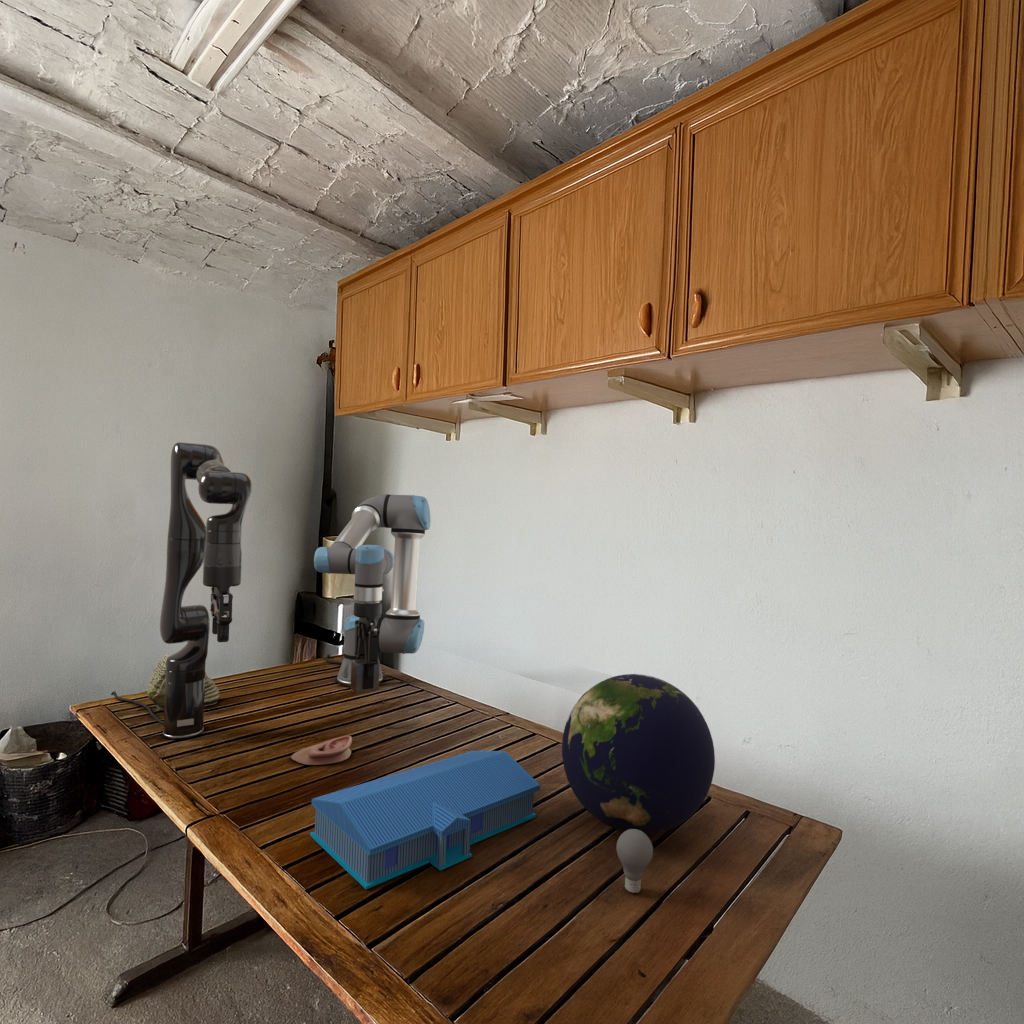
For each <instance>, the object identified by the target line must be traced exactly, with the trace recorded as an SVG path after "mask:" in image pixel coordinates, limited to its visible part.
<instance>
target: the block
mask: <svg viewBox="0 0 1024 1024" xmlns="http://www.w3.org/2000/svg"><path fill="white" fill-rule="evenodd" d="M363 664H365V659H358V660H352V663H351V687H350V689H351V690H352V691H353V692H354V693H355V694H359V693H366V692H367V693H368V692H374V691H375V692H376V691H379V690H380V689H379V688H380V684H379V668H380V667H381V662H380V660H379V661H378V664H375V665H374V685H373V688H372V689H363V671H364V666H363Z"/></svg>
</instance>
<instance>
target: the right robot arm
mask: <svg viewBox="0 0 1024 1024" xmlns="http://www.w3.org/2000/svg"><path fill="white" fill-rule="evenodd" d="M378 528H384V529H385V528H386V529H390V534H391V535H392V536H393V538H394V549H393V553H392V552H391V551H390V550H388V549H386V548H384V546H382V545H379V544H364V543H365V541H366V540H367V538H368V537H369V535H370V534H371V532H374V531H375V530H377V529H378ZM430 528H431V511H430V505H429V501H428V499H427V498H426V497H425V496H421V495H415V494H388V493H383V494H377V495H374V496H371V497H369V498H367V499H365V500H364V501H362V502H360V503H359V504H358V505H357V506H356V507H355V508H354V509H353V512H352V513H351V519H350V520H349V521H348V523H347V524H346V525H345V526H344V528H343V529H342V531H341V532H340V533H339V534H338V536H337V537H336V538H335V540H334V541H333V543H332V544H331V545H330V546H320V547H317V549H316V550H315V552H314V556H313V567H314V569H315V571H316V572H318V573H323V574H329V575H330V574H337V575H342V574H343V575H354V586H353V600H354V603H353V614H351V615H349V616H347V617H346V618H345V621H344V622H345V623H344V629H343V633H344V636H343V659H342V661H339V660H338V661H337V660H330V658H331V654H330V653H328V654H326V656H325V657H324V660H325V662H326V663H328V664H335V665H340V668H339V671H338V673H337V677H336V682H337V683H338V684H339V686H343V687H349V688H351V663H352V660H358V659H365V664H363V666H364V671H363V689H372V688H373V685H374V665H375V664H378V661H379V662H380V659H379V653H390V654H402V655H406V654H411V655H412V654H415V653H417V652H418V651H419V650H420V647H421V644H422V641H423V637H424V632H425V621H424V619H422V618H421V613H420V612H419V611H418V610H417V597H418V596H417V595H418V581H419V564H420V550H421V549H420V547H421V539H422V538H423V537H424V536H425V535H426V531H428V530H430ZM390 571H392V581H391V582H392V583H391V585H392V586H391V597H390V598H391V599H390V608H389V609H388V610H387V611H386V612H385V617H381V616H382V613H383V603H382V602H381V601H382V600H383V593H384V591H385V590H384V588H383V586H384V585H383V581H384V576H385V575H387V574H388V573H390ZM383 681H384V674H383V670H382V667H381V666H380V668H379V685H380V684H381V683H383Z"/></svg>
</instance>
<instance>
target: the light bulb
mask: <svg viewBox="0 0 1024 1024" xmlns="http://www.w3.org/2000/svg"><path fill="white" fill-rule="evenodd" d="M615 849H616V854H617V857H618V859H619V861H620V863H621V865H622V867H623V873H624V874H623V875H624V876H625V878H624V888H625V890H627V891H628V892H630V893H634V894H635V893H639V892H640V891H641V889H642V887H641V886H642V879H643V877H644V875H645V871H646V868H647V867H648V866H649V864H650V863H651V861H652V859H653V855H654V847H653V843H652V841H651V838H649V835H646V834H645V833H644V832H642V831H640V830H637V829H629V830H627V831H625V832H622V833H621V834H620V835H619V837H618V839H617V841H616V847H615Z"/></svg>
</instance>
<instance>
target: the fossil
mask: <svg viewBox="0 0 1024 1024" xmlns="http://www.w3.org/2000/svg"><path fill="white" fill-rule="evenodd" d="M171 655H172V654H165V655H164V656H163V657H162V658H161V659H160V660H159V662H158V663H157V666H156V667H155V669H154V670H153V672H152V675H151V677H150V680H149V684H148V688H147V697H148V699H149V700H150V701H152V703H153V704H154V706H155V711H158V712H159V711H162V712H163V711H164V705H165V674H166V660H167V658H168V657H169V656H171ZM220 698H221V696H220V690H219V688H218V686H217V685H216V683H215V682H214V681H213V679H212V678H211V677H209V675H208V674H207V672H206V671H205V693H204V707H207V706H213V705H215V704H217V703H218V701H219V699H220Z"/></svg>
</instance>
